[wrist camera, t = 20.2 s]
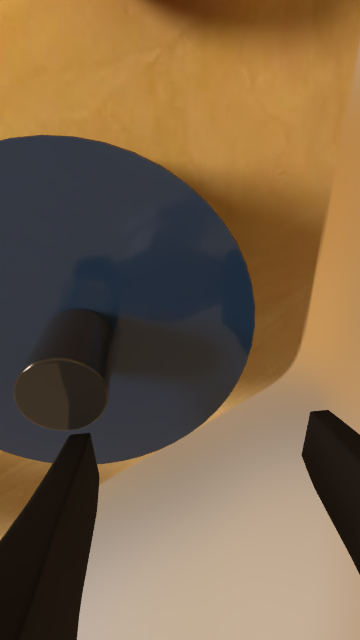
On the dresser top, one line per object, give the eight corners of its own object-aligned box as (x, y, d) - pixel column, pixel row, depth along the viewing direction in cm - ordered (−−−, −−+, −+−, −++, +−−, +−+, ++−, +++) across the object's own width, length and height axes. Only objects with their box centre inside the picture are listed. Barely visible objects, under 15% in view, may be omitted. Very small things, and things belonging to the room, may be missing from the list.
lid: (260, 131, 11) (326, 119, 7) (238, 432, 17) (267, 514, 13) (-184, 142, 10) (-397, 136, 6) (-36, 459, 16) (-93, 559, 12)
